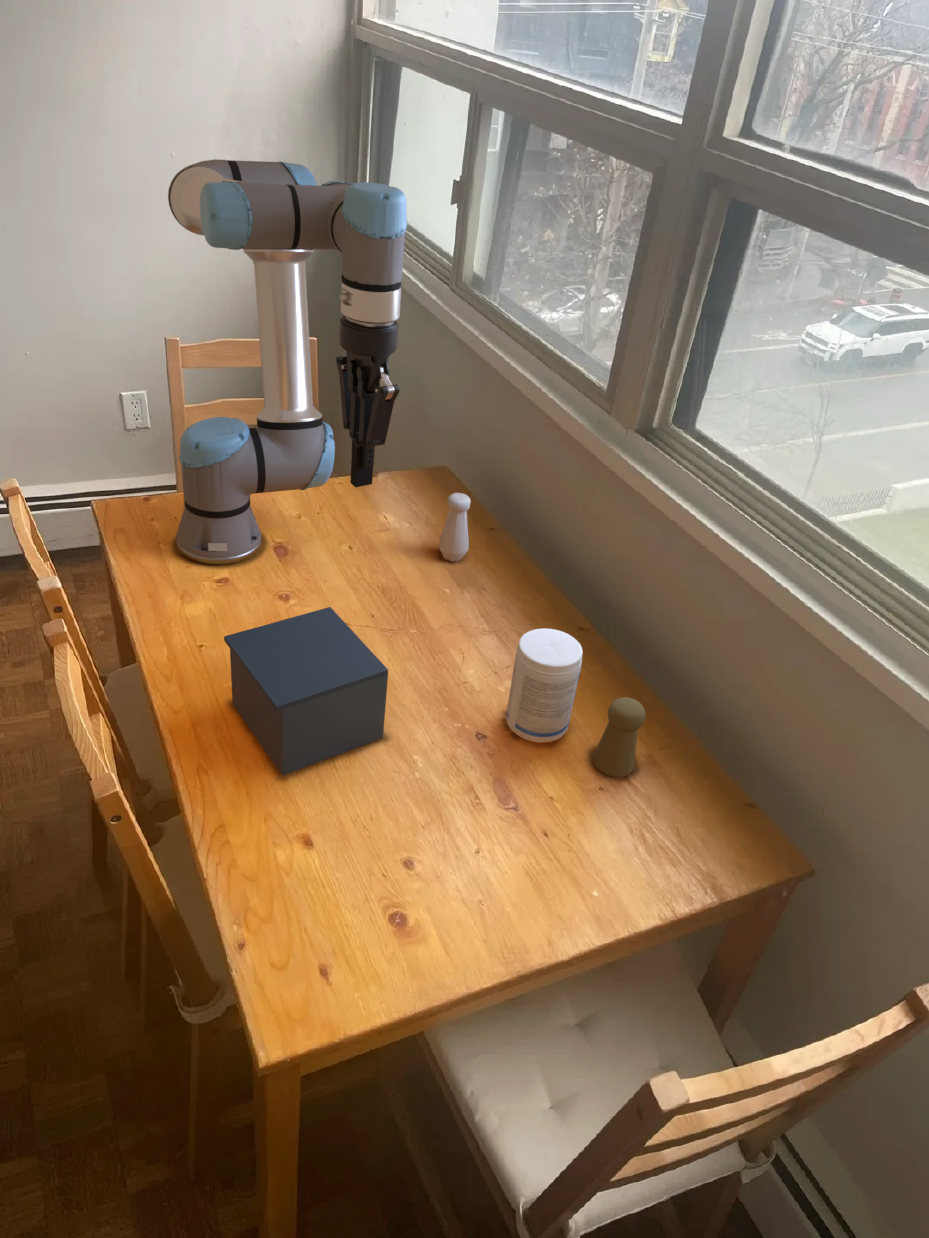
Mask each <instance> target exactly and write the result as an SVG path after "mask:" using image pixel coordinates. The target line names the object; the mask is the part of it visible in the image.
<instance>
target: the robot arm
mask: <svg viewBox="0 0 929 1238" xmlns="http://www.w3.org/2000/svg"><path fill="white" fill-rule="evenodd" d="M167 190H168V192H167V200H168V206H169V208H170V212H171V214H172V215H173V218H174V219H175V220H176V221H177V224H179V225H180V226H181V227H182V228H184V229H185V230H186V231H188V232H190V233H192V234H195V235H199V236H204V238H205V241H206V243H207V244H208V245H209V246H210V247H212V248H215V249H227V250H234V251H240V250H243V251H242V252H243V253H244V254H245V255H246V256H247V257H248V258H249V259H250V260H251V261H252V263H253V271H254V273H253V274H254V285H255V286H254V287H255V297H256V299H255V300H256V311H257V325H258V326H257V327H258V338H259V354H260V366H261V379H262V381H261V382H262V393H263V408H262V409H261V410H260V411H259V412H258V413H257V415H256V427H249V426H248V424H247V423H246V422H245V421H243V420H242V419H239V418H236V417H232V418H230V417H228V416H216V417H210V418H205V419H202V420H199V421H197V422H194V423H192V424H191V425H190V426H189V427H187V428H186V429H184V431H183V432H182V434H181V436H180V440H179V441H180V443H179V462H180V464H181V477H182V478H181V479H182V491H183V503H184V504H183V511H182V514H181V518H180V521H179V524H178V527H177V531H176V537H175V539H176V548H177V550H178V551H179V552H178V553H180V554H181V555H182V556H184V557H185V558H187V559H189V560H190V561H192V562H193V561H194V562H196V563H200V564H205V565H215V566H217V565H218V566H221V565H222V566H223V565H230V564H236V563H240V562H243V561H246V560H248V559H249V558H252V557H253V556H255V555H256V554H257V553H258V552H259V551H260V549H261V548H262V533H261V529H260V526H259V524H258V521H257V520H256V516H255V514H254V511H253V509H252V506H251V495H254V494H264V493H277V492H285V491H287V492H288V491H295V490H296V491H297V490H300V491H305V490H307V489H313V488H314V489H315V488H319V487H320V488H321V487H322V486H324V485H325V484H327V482H328V481H329V480H330V477H331V475H332V472H333V470H334V465H335V455H336V454H335V453H336V444H335V443H336V442H335V440H334V432H333V429H332V427H331V425H330V424H329V423H327V422H324V421H323V414H322V413H321V411H319V410H318V409H317V408H316V407H315V405H314V400H313V399H314V398H313V397H314V396H313V381H312V380H313V379H312V363H311V362H312V361H311V347H310V346H311V345H310V327H309V309H308V308H309V307H308V290H307V289H308V287H307V273H306V270H307V269H306V262H307V260H308V259H309V258H310V257H311V256H312V254H313V253H314V251H315V250H325V251H327V250H329V251H330V250H331V251H332V250H333V251H334V250H335V251H339V252H340V253H341V293H340V294H339V301H340V313H341V314H342V317H341V318H340V319H339V338H338V339H339V341H338V342H339V346H340V347H341V349H343V350H345V355H341V356H336V358H335V363H336V366H337V367H336V368H337V372H338V375H339V376H338V377H339V390H340V401H341V414H342V425H343V429H344V430H348V431H349V432H348V435H349V438H350V439H351V458H350V459H351V461H350V484H351V485H352V486H353V487H354V488H360V487H364V486H365V487H366V486H370V485H372V484H373V476H374V464H375V450H376V449H375V448H376V447H377V446H383V445H385V444H386V441H387V436H388V431H389V427H390V422H391V419H392V414H393V409H394V405H395V401H396V399H397V397H398V396H399V394H400V386H399V384H392V382H391V380H390V378H389V375H390V364H389V358H390V356H391V355H392V354H393V353H395V352H396V351H397V348H398V342H399V341H398V340H399V327H400V326H399V322H398V321H397V320H399V318H401V317H400V316H401V303H402V302H401V300H402V280H403V267H404V255H405V242H406V241H405V240H406V232H407V227H408V219H407V197H406V194H405V193H404V191H403V190H402V189H399V188H398V187H395V186H390V185H388V184H384V183H379V182H367V181H364V182H353V183H349V182H348V181H346V182H345V181H342V180H337V179H335V180H328V181H327V182H324V183H322V184H321V185H319V184H318V183H317V181H316V178H315V176H314V175H313V173H312V171H311V170H310V169H309V168H308V167H306V165H303V164H300V163H299V164H298V163H291V162H285V161H281V160H280V161H256V160H232V159H229V160H228V159H208V160H202V161H199V162H195V163H192V164H189V165H187V166H185V167H183V168H182V169H180V170H179V171H178V172H177V173H176V174H175V175H174V176H173V178H172V180H171V181H170V183H169V186H168V189H167Z"/></svg>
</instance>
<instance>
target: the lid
mask: <svg viewBox="0 0 929 1238" xmlns="http://www.w3.org/2000/svg"><path fill="white" fill-rule="evenodd" d="M223 641H224V643H225V644H226V646H228V648H229V650H230V649H231V651H232V652H233V653H234V655H235V656H236V657H237V659H238V660H239V661H240V663H241V664H242V665H243V667H244V668H245V669H246V671H247V672H248V673H249V675H250V676H251V677H252V679H253V680H254V682H255V683H256V684H257V686H258V687H259V688H260V690H261V691H262V692H263V694H264V695H265V696H266V698H267V699H268V700H269V702H270V703H271V704H272V706H273V707H274V708H275V710H276V711H279V710H282V709H285V708H288V707H291V706H294V705H297V704H300V703H303V702H306V701H309V700H312V699H315V698H318V697H321V696H324V695H327V694H330V693H333V692H336V691H339V690H342V689H345V688H348V687H351V686H354V685H357V684H360V683H363V682H365V681H368V680H371V679H374V678H377V677H380V676H383V675H386V674H388V675H389V668H387V667H386V666H385V664H384V663H383V662H382V661H381V660H380V659H379V658H378V657H377V656H376V654H374V653H373V651H372V650H371V649H370V648H369V647H368V646H367V645H366V644H365V642H364V641H362V639H361V638H359V636H358V635H357V634H356V632H354V631H353V630H352V629H351V628H350V627H349V625H348V624H347V623H346V622H345V621H344V620H343V619H342V618H341V616H339V614H338V613H336V611H335V610H334V609H333V608H332V607H331V606H328V607H325V608H321V609H317V610H313V611H310V612H306V613H302V614H299V615H296V616H292V617H289V618H285V619H281V620H277V621H275V622H270V623H267V624H264V625H260V626H257V627H252V628H248V629H246V630H242V631H238V632H234V633H231V634H228V635H224V636H223Z"/></svg>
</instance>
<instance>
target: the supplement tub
mask: <svg viewBox="0 0 929 1238" xmlns="http://www.w3.org/2000/svg"><path fill="white" fill-rule="evenodd" d="M583 653H584V652H583V647H582V644H581V643H580V642H579V641H578V640H577V639H576V637H574V636H572V635H571V634H569V633H567V632H565V631H561V630H559V629H555V628H536V629H532V630H529V631H527V632H525V633H524V634H522V636H521V637H520V638H519V641H518V645H517V647H516V652H515V658H514V665H513V669H512V677H511V683H510V689H509V695H508V701H507V707H506V714H505V715H506V716H505V718H506V719H505V720H506V723H507V725H508V727H509V729H510V730H511V731H512V732H513V733H514V734H515V735H517V736H518V737H520V738H522V739H523V740H525V741H529V742H532V743H539V744H545V743H551V742H555V741H557V740H559V739H561V738H562V737H563V736H564V735H565V734H566V733H567V731H568V730H569V729H568V728H569V725H570V719H571V715H572V712H573V711H572V710H573V706H574V702H575V698H576V693H577V689H578V684H579V680H580V675H581V670H582V662H583Z"/></svg>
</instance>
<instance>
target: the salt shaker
mask: <svg viewBox="0 0 929 1238" xmlns="http://www.w3.org/2000/svg"><path fill="white" fill-rule="evenodd" d="M471 503H472V502H471V498H470V496H468V495H467V494H466V493H462V492H454V493H453V492H452V493H451V494H450V495H449V496H448V497H447V507H448V513H447V516H446V518H445V519H446V520H445V521H444V526H443V528H442V532H441V535H440V538H439V542H438V548H439V550H440V551H439V552H441V555H442V559H444V560H447V561H449V562H453V563H454V562H460V561H461V560H462V559H463V558H464V556H465V555H466V554H467V553H468V551H469V547H470V542H469V539H470V538H469V525H468V511H469V509H470V507H471Z"/></svg>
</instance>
